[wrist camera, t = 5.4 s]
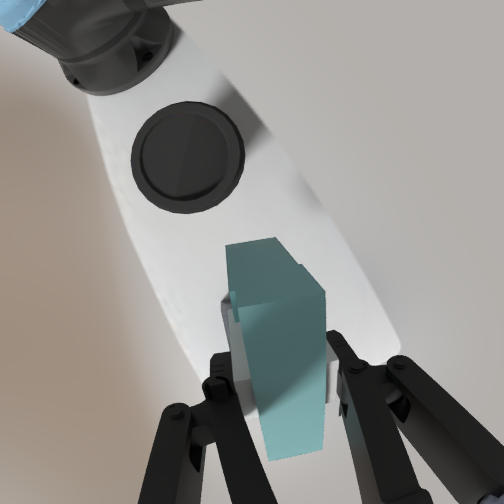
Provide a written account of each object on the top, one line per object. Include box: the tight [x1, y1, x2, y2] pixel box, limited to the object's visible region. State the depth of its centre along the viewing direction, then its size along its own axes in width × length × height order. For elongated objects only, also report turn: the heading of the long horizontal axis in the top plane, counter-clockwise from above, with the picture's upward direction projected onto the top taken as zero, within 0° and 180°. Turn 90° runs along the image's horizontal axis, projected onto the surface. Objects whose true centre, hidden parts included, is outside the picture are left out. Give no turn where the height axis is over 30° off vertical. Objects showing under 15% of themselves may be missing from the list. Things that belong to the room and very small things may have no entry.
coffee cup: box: [131, 101, 245, 214], centre depth 24 cm, size 8×8×15 cm
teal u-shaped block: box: [225, 237, 326, 461], centre depth 16 cm, size 10×4×11 cm, turn 8°
